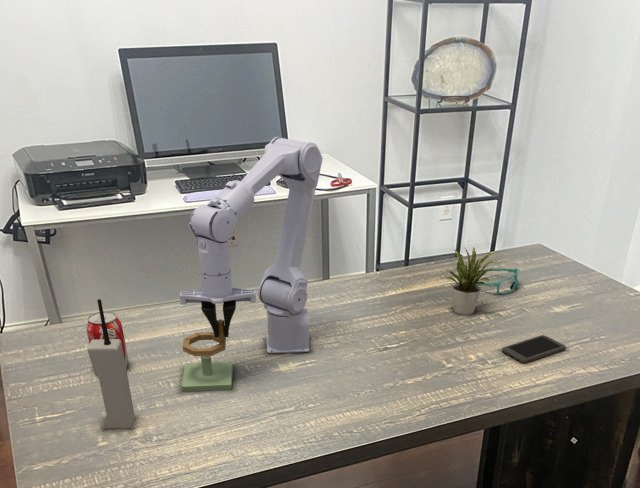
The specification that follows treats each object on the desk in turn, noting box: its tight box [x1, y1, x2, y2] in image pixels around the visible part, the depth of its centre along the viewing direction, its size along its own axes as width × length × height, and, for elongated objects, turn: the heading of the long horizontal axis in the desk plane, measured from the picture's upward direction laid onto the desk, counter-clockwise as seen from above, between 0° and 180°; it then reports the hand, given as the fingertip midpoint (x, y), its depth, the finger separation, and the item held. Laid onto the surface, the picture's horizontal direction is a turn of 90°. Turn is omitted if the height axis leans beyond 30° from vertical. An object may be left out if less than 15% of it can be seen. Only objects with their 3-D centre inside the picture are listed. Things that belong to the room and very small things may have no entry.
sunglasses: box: [476, 267, 521, 295], centre depth 189 cm, size 14×15×5 cm
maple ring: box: [182, 318, 227, 357], centre depth 137 cm, size 8×8×6 cm
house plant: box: [444, 247, 500, 316], centre depth 170 cm, size 14×14×16 cm
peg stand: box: [180, 356, 234, 392], centre depth 141 cm, size 10×10×5 cm
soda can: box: [85, 310, 129, 368], centre depth 142 cm, size 7×7×12 cm
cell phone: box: [501, 334, 566, 364], centre depth 156 cm, size 7×14×1 cm, turn 123°
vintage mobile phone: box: [86, 298, 136, 430], centre depth 120 cm, size 4×5×25 cm
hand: (221, 335), depth 137 cm, fingers closed on maple ring
